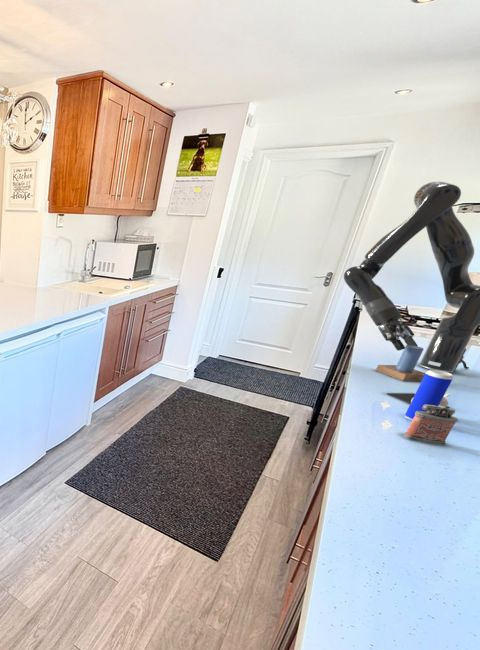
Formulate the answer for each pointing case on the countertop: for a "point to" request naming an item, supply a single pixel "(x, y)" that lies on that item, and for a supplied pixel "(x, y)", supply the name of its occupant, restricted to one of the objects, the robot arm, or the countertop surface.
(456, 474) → the countertop surface
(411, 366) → the post
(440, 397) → the beverage can
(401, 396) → the mat
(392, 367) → the platform
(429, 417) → the lighter
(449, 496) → the countertop surface
